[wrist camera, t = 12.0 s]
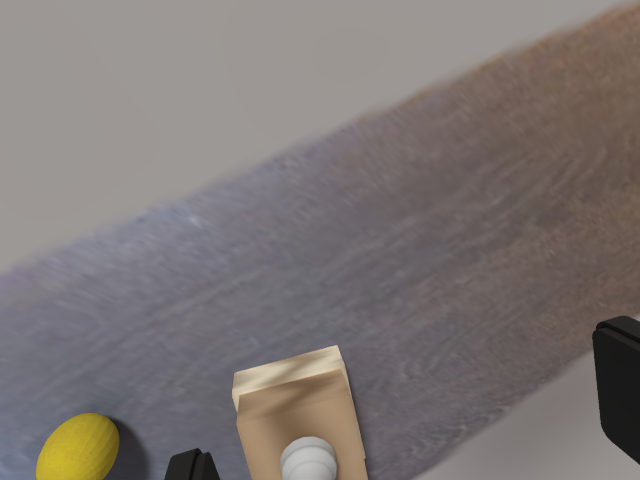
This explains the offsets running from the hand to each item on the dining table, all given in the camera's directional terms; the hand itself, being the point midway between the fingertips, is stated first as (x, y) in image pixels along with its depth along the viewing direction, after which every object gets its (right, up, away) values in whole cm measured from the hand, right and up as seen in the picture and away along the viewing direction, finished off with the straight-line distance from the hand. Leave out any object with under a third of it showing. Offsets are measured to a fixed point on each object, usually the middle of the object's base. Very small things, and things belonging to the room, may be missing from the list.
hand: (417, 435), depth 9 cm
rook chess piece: (-3, -13, +23) cm, 27 cm away
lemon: (-23, -12, +28) cm, 38 cm away
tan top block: (-4, -12, +27) cm, 30 cm away
